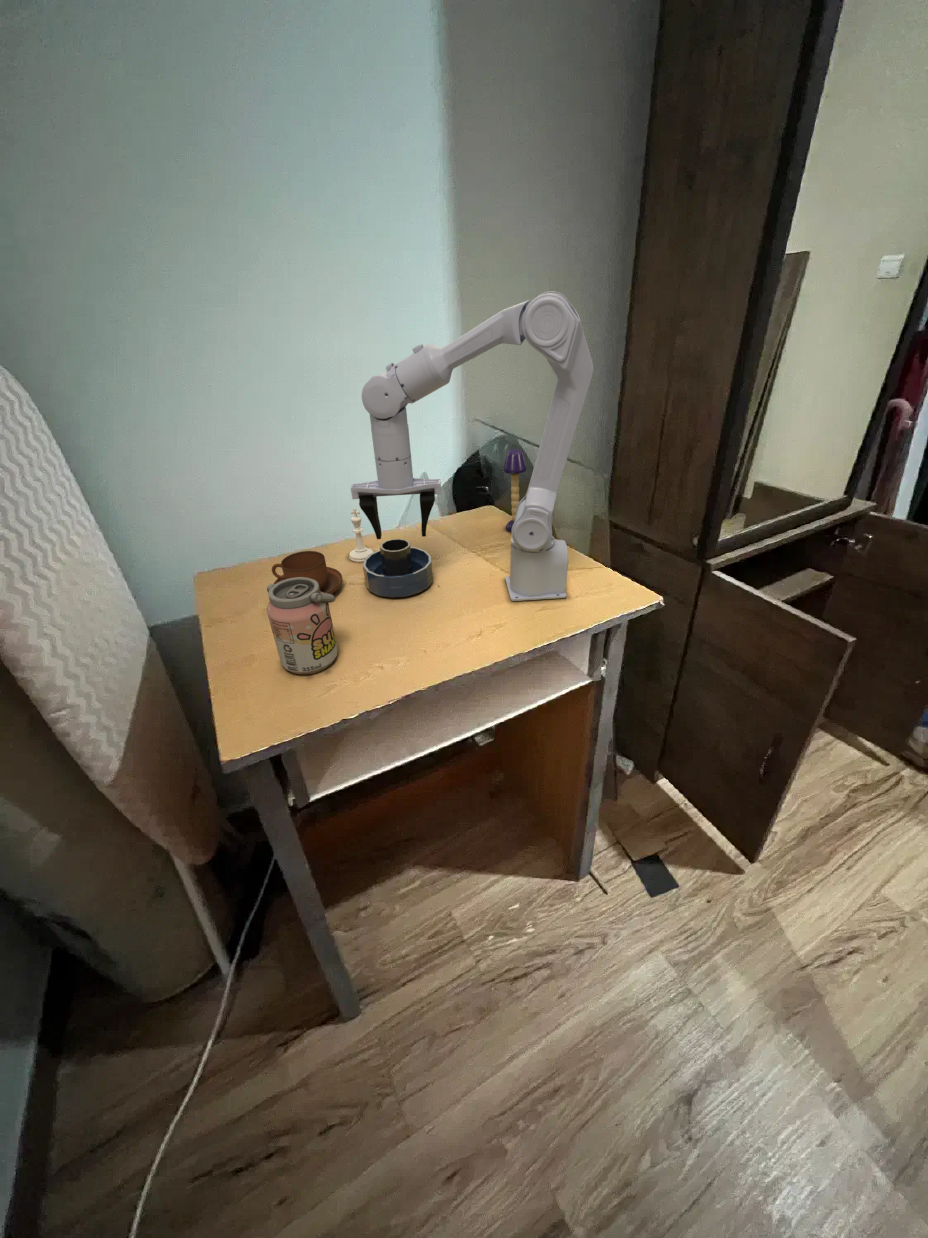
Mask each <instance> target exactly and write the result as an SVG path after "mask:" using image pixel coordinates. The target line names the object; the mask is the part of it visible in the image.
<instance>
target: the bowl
mask: <svg viewBox="0 0 928 1238" xmlns="http://www.w3.org/2000/svg"><path fill="white" fill-rule="evenodd" d="M373 552H374V553H372V554H370V555H369V556H368V557H367V558H365V559H364V561H362V571H363V576H364V577H363V578H364V585H365V586H366V588H367V590H368V591H369V592H371V593H373V594H374V595H376V596H380V597H387V598H405V597H409V596H413V595H416V594H419V593H421V592H423V591H425V590H426V589H428V588H429V587H430V585H431V584H432V583H433V581H434V574H433V561H432V555H431V554H430V553H429V552H428V551H427V550H425V549H422V548H419V547H416V546H411V555H412V565H413V573H410V574H406V575H401V576H385V575H383V567H382V559H381V552H380V549H378V550H376V551H373Z"/></svg>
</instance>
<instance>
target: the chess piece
mask: <svg viewBox="0 0 928 1238" xmlns="http://www.w3.org/2000/svg"><path fill="white" fill-rule="evenodd" d="M350 515H354V516H352V517H351V518H350V522H351V523H352V525H353V528H352V532H353V533H355V548H354V549H353V550H350V552H349V553H348V554H349V556H348V557H349V560H350V561H352V562H355V563H356V562H358V563H360V562H361V563H363V562H364V559H365V558H367V557H368V556H369V555H370V554H372V553H374V552H375V551H374V550H373V549H372V548H370V547H366V546H365V543H364V540H363V535H362V533H363V532H364V528H363V527H361V524H362V517H361V516H358V515H361V512H360V511H358V510H357V508H356V507H354V508H353V509H352V510H351V511H350Z"/></svg>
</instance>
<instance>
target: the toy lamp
mask: <svg viewBox="0 0 928 1238" xmlns="http://www.w3.org/2000/svg"><path fill="white" fill-rule="evenodd" d="M526 471H527V464H526V459H525V456H524V452H523V450H522V449H520V448H512V449H509V450H508V451H507V452H506V456H505V461H504V466H503V472H504V473H505V474H507V475H508V474H509V475H510V478H511V479H510V485H511V487H510V491H511V492H510V493H511V495H510V499H511V502H510V505H511V520H508V522H507V523H506V524H505V525H506V526H505V530H506V531H507V532H508V533H511V531H512V526H513V524H514V522H515V518H516V509H517V506H518V504H519V502H520V486H519V485H520V478H519V477H520V474H524V473H525V472H526Z"/></svg>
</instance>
